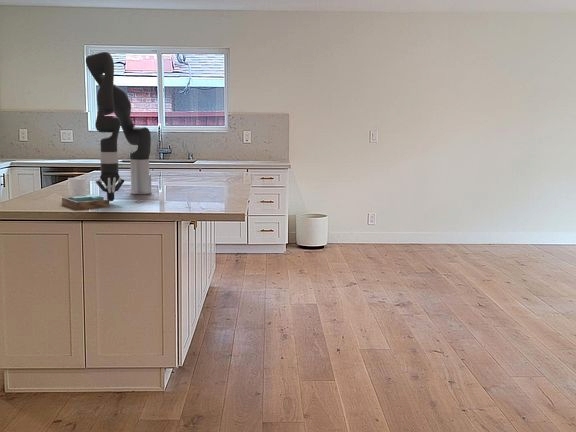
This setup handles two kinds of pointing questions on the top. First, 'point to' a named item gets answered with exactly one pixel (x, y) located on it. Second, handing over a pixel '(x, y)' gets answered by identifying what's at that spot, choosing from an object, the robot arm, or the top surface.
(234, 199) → the top surface
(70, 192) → the white cup
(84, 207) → the walnut dock
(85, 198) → the teal T-block
